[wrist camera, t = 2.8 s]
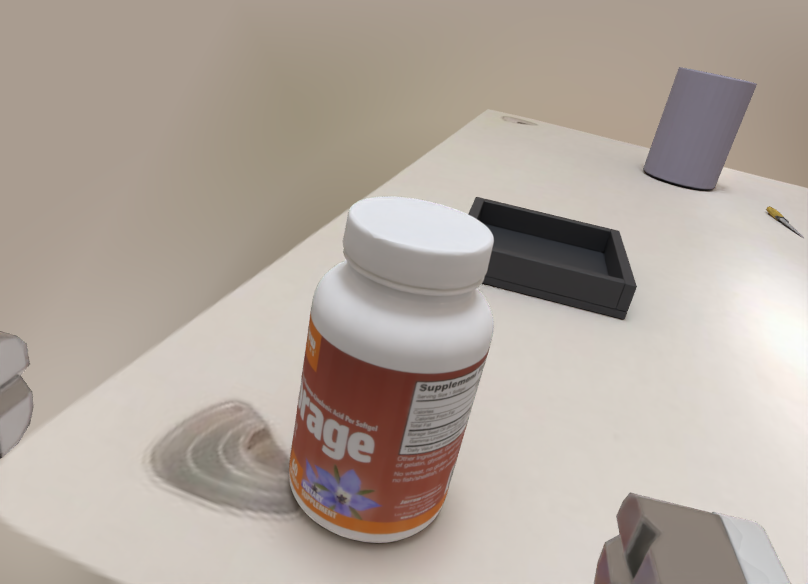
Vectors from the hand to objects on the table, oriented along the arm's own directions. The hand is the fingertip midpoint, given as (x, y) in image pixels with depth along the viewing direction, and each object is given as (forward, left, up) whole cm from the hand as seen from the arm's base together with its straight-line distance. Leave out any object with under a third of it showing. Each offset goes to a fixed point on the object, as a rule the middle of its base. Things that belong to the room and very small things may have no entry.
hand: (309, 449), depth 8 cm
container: (+25, +92, -12) cm, 96 cm away
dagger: (+36, +78, -12) cm, 87 cm away
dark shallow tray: (+5, +41, -12) cm, 43 cm away
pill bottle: (-1, +12, -12) cm, 17 cm away
